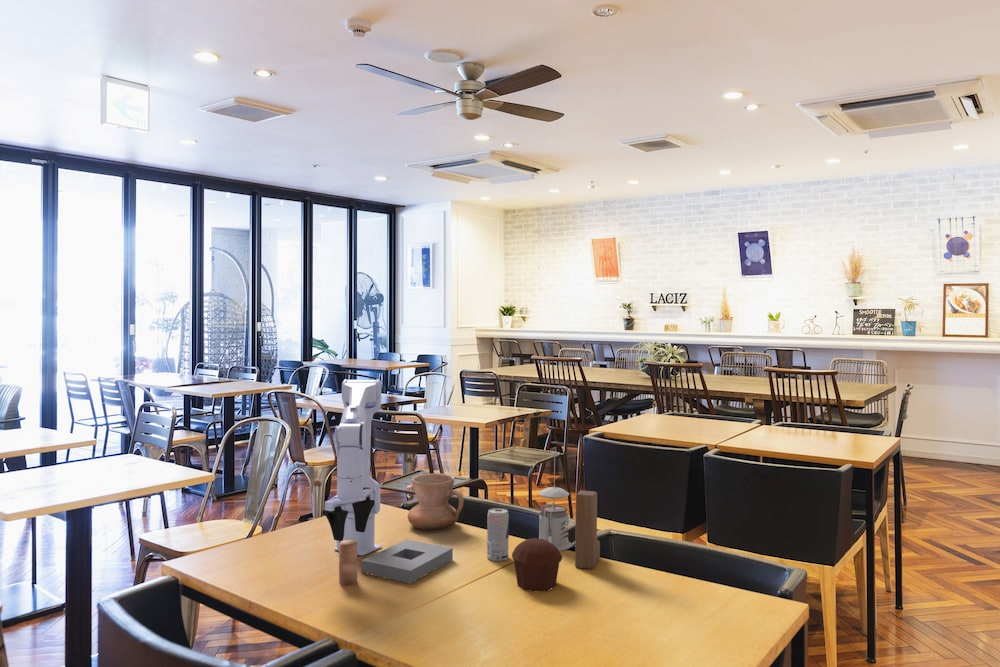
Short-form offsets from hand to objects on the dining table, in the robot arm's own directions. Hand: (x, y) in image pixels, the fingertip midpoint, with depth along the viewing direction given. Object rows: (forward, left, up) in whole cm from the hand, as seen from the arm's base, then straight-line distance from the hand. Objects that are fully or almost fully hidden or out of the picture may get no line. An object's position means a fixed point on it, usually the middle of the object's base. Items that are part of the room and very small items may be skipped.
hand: (349, 535), depth 162 cm
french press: (+30, +47, -11) cm, 57 cm away
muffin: (+38, +20, -11) cm, 44 cm away
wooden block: (+43, +39, -11) cm, 59 cm away
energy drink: (+22, +31, -11) cm, 39 cm away
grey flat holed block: (+6, +15, -11) cm, 19 cm away
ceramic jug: (-7, +45, -11) cm, 47 cm away
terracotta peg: (0, 0, -11) cm, 11 cm away
